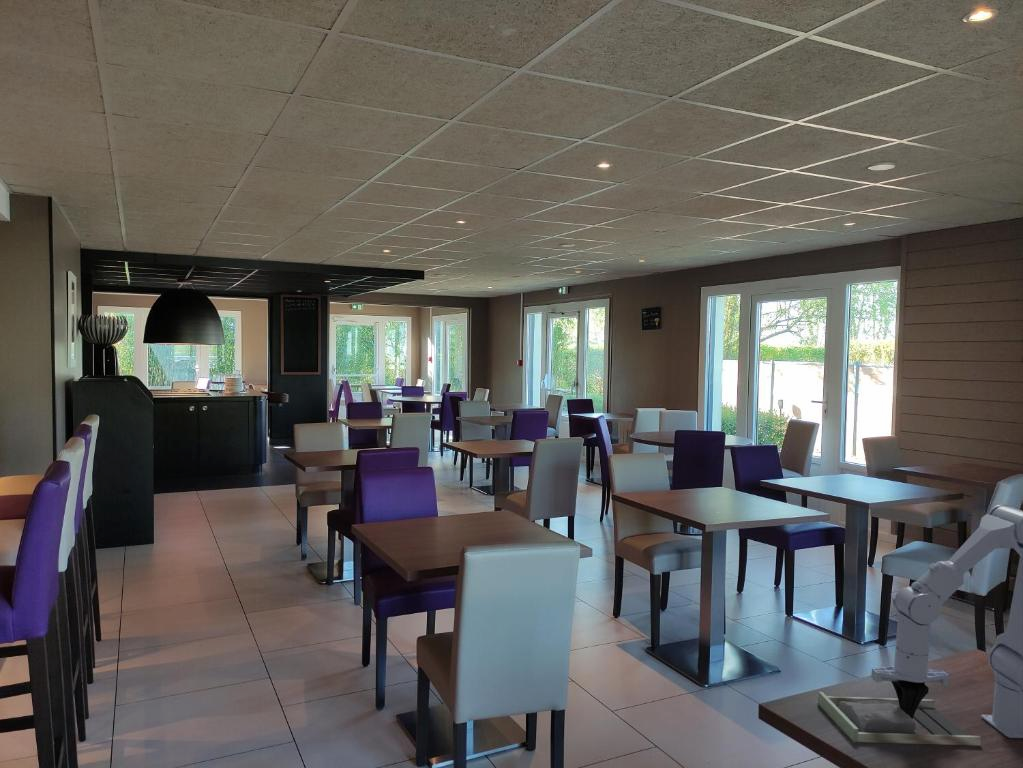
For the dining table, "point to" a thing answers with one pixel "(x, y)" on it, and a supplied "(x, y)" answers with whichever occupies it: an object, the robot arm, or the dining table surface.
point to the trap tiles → (939, 719)
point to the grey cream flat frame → (908, 737)
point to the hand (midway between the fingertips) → (906, 716)
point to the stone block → (878, 717)
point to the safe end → (838, 717)
